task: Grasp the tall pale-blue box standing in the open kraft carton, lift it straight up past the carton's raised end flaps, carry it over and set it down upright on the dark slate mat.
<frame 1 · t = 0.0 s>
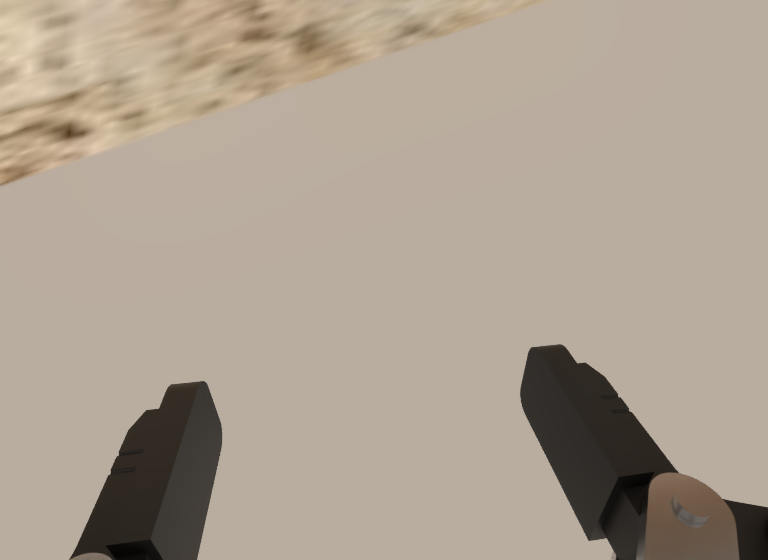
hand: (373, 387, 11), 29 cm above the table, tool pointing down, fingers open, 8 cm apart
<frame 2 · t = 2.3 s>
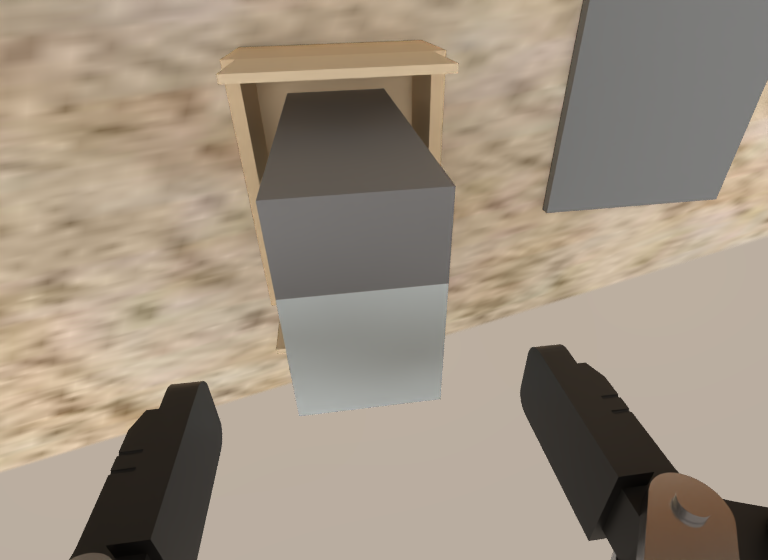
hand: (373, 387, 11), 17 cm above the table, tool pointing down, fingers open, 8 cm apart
carton: (341, 162, 25), on the table
box: (342, 166, 25), point 1 cm above the table, touching carton
mat: (656, 108, 26), on the table
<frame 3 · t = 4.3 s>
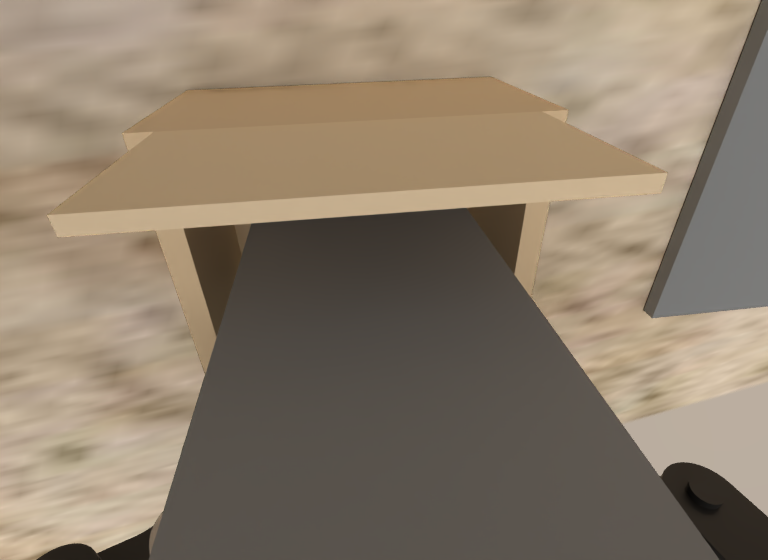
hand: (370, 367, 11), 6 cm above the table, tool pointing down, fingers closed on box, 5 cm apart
carton: (355, 257, 16), on the table
box: (357, 265, 16), point 1 cm above the table, touching carton, gripper
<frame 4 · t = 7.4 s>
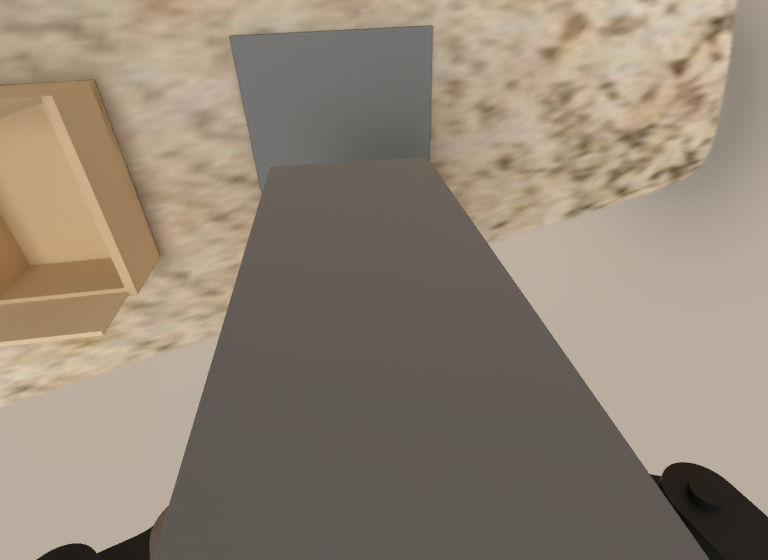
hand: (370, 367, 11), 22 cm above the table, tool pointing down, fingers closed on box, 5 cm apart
carton: (58, 184, 29), on the table
box: (356, 268, 16), point 17 cm above the table, touching gripper
mat: (341, 132, 29), on the table
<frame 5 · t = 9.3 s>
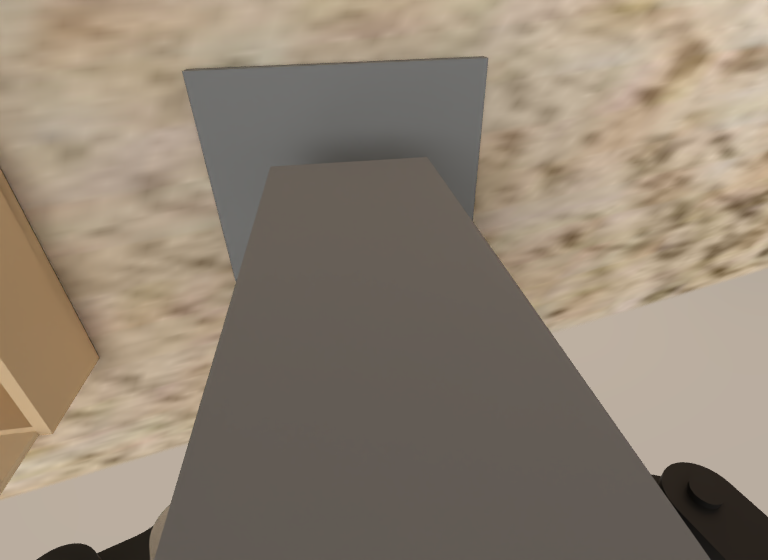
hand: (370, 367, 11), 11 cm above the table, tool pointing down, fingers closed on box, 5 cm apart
box: (357, 268, 16), point 6 cm above the table, touching gripper
mat: (349, 201, 21), on the table
when the fingers open (8 cm above the table, at t = 10.8 s): box drops 2 cm, resting on mat.
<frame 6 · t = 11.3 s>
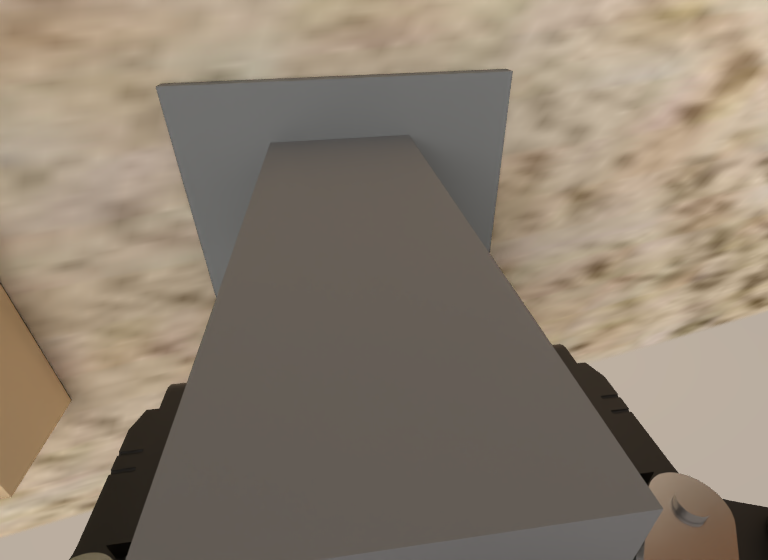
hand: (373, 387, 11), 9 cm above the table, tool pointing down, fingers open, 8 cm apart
box: (348, 237, 18), point 1 cm above the table, touching mat
mat: (351, 231, 18), on the table
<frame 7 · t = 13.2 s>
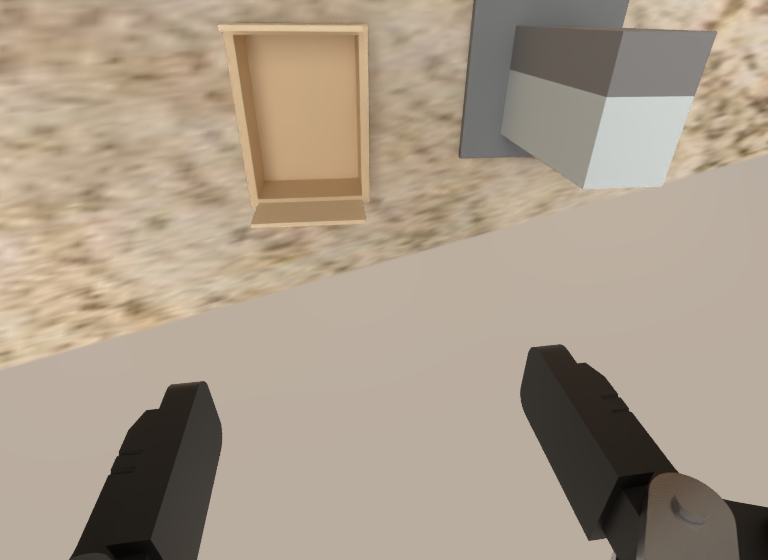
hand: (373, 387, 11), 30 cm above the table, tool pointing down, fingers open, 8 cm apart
carton: (306, 110, 35), on the table
box: (537, 82, 35), point 1 cm above the table, touching mat
mat: (536, 82, 36), on the table
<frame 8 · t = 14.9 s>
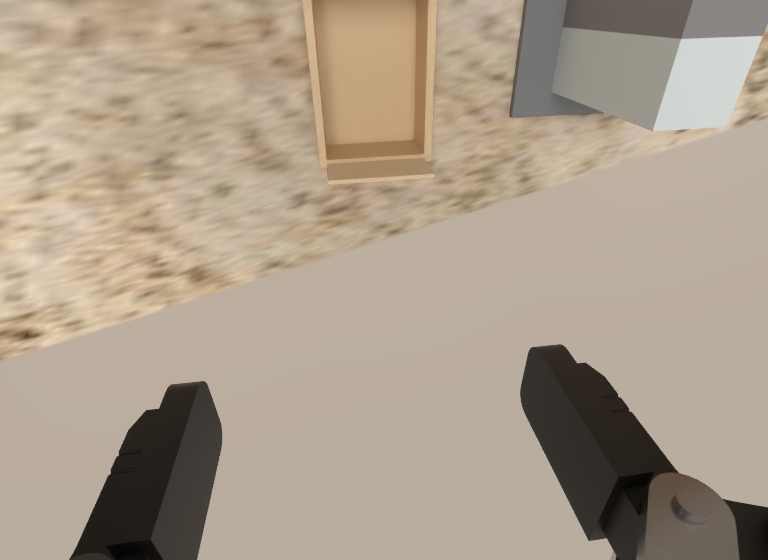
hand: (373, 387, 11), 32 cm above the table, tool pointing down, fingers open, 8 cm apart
carton: (367, 74, 36), on the table
box: (588, 39, 36), point 1 cm above the table, touching mat
mat: (586, 39, 37), on the table
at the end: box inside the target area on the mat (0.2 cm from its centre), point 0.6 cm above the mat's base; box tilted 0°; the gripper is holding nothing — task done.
